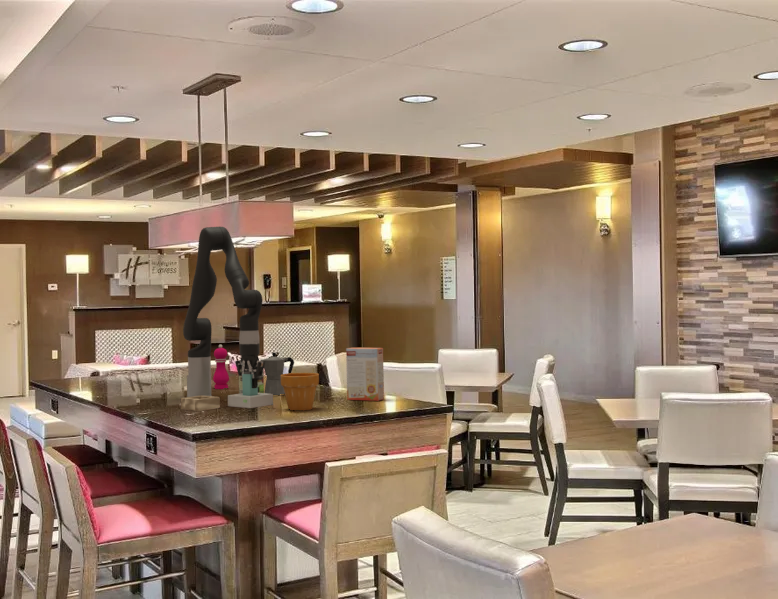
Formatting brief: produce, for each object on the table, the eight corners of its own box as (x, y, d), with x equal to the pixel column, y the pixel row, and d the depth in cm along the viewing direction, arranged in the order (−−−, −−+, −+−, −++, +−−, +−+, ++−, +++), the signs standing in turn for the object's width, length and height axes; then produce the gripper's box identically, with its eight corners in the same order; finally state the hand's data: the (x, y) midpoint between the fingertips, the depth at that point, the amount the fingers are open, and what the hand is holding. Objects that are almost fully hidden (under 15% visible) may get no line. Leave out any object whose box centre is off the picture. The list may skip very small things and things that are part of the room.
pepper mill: (232, 387, 415) (231, 344, 415) (224, 389, 409) (223, 345, 408) (218, 387, 418) (217, 343, 417) (210, 389, 411) (209, 345, 411)
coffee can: (267, 398, 374) (267, 364, 374) (259, 401, 364) (258, 366, 364) (244, 398, 376) (243, 363, 376) (234, 401, 366) (234, 366, 366)
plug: (242, 400, 345) (242, 371, 344) (250, 399, 348) (249, 371, 348) (250, 401, 342) (249, 372, 342) (257, 399, 345) (257, 371, 345)
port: (227, 408, 344) (226, 395, 344) (251, 405, 353) (250, 392, 353) (249, 410, 336) (249, 397, 336) (273, 407, 346) (273, 393, 346)
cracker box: (384, 399, 364) (383, 347, 363) (378, 401, 358) (377, 348, 358) (353, 398, 370) (352, 346, 369) (346, 400, 364) (345, 347, 364)
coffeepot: (262, 396, 379) (261, 353, 379) (256, 394, 388) (255, 352, 388) (298, 394, 385) (297, 352, 385) (291, 392, 394) (290, 350, 394)
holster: (181, 411, 337) (180, 398, 337) (201, 408, 345) (201, 395, 345) (199, 413, 331) (198, 399, 331) (219, 410, 339) (219, 396, 339)
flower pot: (303, 412, 329) (303, 376, 329) (273, 410, 337) (272, 375, 337) (326, 408, 341) (326, 373, 341) (296, 405, 349) (296, 372, 349)
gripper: (229, 342, 346) (229, 387, 346) (255, 343, 337) (256, 389, 338) (243, 341, 352) (244, 385, 352) (269, 342, 343) (270, 387, 344)
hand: (250, 387), depth 345 cm, fingers closed on plug, 4 cm apart
